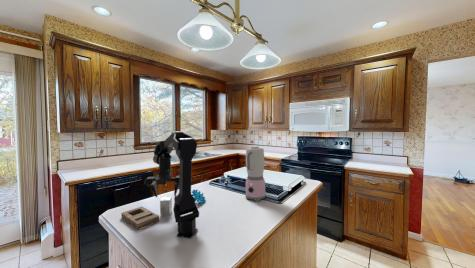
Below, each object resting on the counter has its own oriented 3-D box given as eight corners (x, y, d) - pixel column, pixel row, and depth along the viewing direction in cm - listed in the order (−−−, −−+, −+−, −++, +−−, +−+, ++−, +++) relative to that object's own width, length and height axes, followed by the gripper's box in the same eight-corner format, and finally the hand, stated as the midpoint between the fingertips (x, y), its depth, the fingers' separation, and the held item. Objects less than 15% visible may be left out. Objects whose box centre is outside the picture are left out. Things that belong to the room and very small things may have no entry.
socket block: (159, 220, 91) (159, 215, 91) (137, 229, 83) (137, 224, 83) (142, 211, 102) (142, 206, 102) (121, 217, 95) (121, 212, 95)
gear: (201, 204, 106) (190, 190, 109) (194, 211, 107) (183, 197, 110) (209, 199, 117) (199, 187, 119) (203, 206, 117) (193, 193, 120)
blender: (251, 193, 127) (250, 145, 126) (268, 196, 121) (268, 146, 120) (239, 201, 114) (238, 147, 113) (257, 205, 107) (257, 148, 107)
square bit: (171, 211, 101) (171, 196, 100) (169, 215, 96) (169, 200, 96) (163, 212, 100) (162, 197, 100) (160, 216, 96) (160, 200, 95)
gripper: (139, 170, 89) (140, 203, 89) (180, 168, 90) (181, 201, 91) (148, 165, 100) (149, 195, 100) (184, 164, 101) (185, 193, 102)
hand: (165, 196), depth 98 cm, fingers open, 9 cm apart
